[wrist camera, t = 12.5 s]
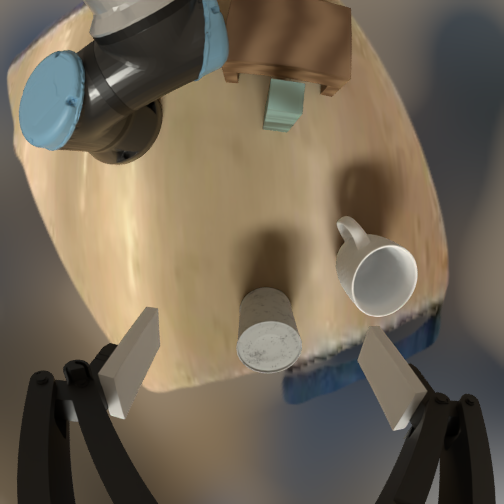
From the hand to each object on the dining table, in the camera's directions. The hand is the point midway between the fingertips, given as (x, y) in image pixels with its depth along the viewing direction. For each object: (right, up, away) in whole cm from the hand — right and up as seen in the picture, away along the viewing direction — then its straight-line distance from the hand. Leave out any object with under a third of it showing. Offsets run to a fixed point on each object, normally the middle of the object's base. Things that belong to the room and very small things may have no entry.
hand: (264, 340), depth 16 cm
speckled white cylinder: (+2, -6, +35) cm, 35 cm away
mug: (+17, +5, +32) cm, 37 cm away
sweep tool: (+4, +36, +23) cm, 43 cm away
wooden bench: (+5, +39, +22) cm, 45 cm away
